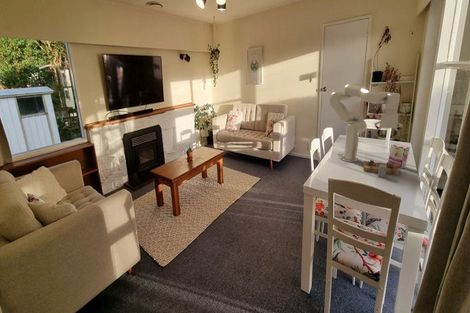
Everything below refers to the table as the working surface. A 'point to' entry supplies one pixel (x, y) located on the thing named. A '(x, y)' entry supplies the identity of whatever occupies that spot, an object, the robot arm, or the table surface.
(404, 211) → the table surface
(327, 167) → the table surface
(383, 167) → the plug
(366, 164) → the socket board
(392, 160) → the candy bar box
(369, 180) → the table surface
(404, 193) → the table surface
